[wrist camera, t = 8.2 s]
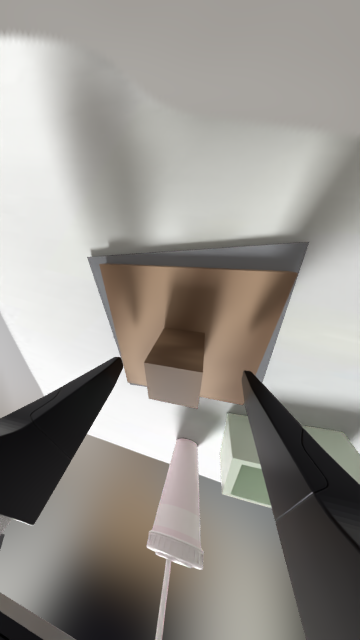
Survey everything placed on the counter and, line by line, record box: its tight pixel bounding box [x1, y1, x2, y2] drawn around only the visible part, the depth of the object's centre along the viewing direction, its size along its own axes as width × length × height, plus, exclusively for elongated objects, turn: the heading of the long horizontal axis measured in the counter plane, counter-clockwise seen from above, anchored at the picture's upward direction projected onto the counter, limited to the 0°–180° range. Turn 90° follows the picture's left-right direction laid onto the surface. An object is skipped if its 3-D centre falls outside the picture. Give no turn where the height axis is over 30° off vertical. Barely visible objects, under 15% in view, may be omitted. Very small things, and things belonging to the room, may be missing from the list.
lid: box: [99, 263, 298, 409], centre depth 10 cm, size 13×13×5 cm
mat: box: [87, 242, 309, 387], centre depth 12 cm, size 15×15×1 cm
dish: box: [220, 413, 360, 508], centre depth 16 cm, size 12×12×4 cm
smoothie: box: [147, 438, 204, 640], centre depth 16 cm, size 6×6×14 cm
